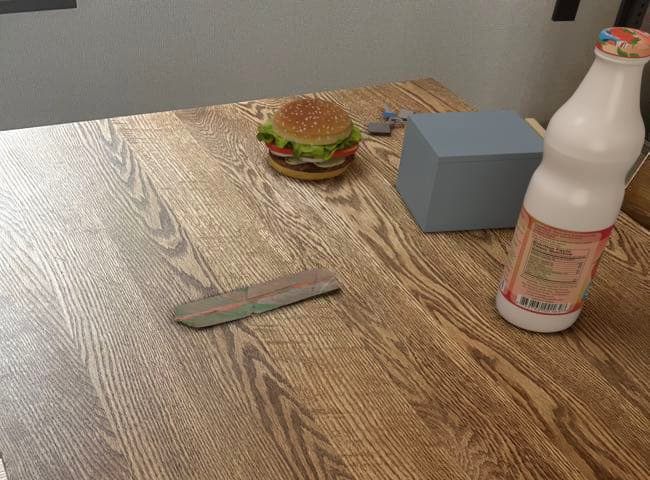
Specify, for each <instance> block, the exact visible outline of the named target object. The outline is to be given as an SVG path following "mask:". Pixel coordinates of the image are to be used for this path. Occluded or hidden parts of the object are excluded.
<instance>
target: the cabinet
mask: <svg viewBox="0 0 650 480" xmlns="http://www.w3.org/2000/svg"><path fill="white" fill-rule="evenodd" d="M406 121H407V122H405V129H404V135H403V141H402V147H401V153H400V158H399V164H398V169H397V170H398V171H397V176H396V182H395V188H396V190H397V192H398V193H399V195H400V197H401V198H402V200H403V202H404V203H405V205H406V206H407V208H408V209H409V211H410V213H411V214H412V216H413V218H414V220H415V222H416V223H417V224H418V226H419V228H420V229H421V231H422V232H423V233H439V232H455V231H471V230H474V231H475V230H490V229H505V228H506V229H507V228H516V226H517V222H518V219H519V215H520V212H521V209H522V205H523V201H524V197H525V194H526V191H527V188H528V186H529V183H530V180H531V178H532V176H533V174H534V172H535V170H536V169H537V168H538V167H539V165H540V164H541V162H542V159H543V142H544V141H543V140H542V139H541V138H540V137H539V135H538V134H537V133H536V132H535V131H534V130H533V129H532V128H531V127H530V126H529V125H528V124H527V123H526V122H525V119H524V118H523V117H522V116H521V115H520V114H519V113H518V112H517V111H516V110H515V109H501V110H500V109H499V110H478V111H476V110H475V111H447V112H446V111H445V112H423V113H419V112H418V113H413V114H408V117H407V119H406Z"/></svg>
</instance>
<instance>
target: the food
mask: <svg viewBox="0 0 650 480" xmlns="http://www.w3.org/2000/svg"><path fill="white" fill-rule="evenodd" d="M257 125H258V126H257V127H256V132H257V133H256V140H257V141H259V143H260V142H263V143H264V144H265V146H266V148H267V149H268V153H267V160H268V163H269V166H270V167H272V168H273V169H274V170H275V171H277V172H278V173H279V174H283V175H285V176H287V177H290V178H295V179H301V180H311V181H312V180H313V181H314V180H325V179H329V178H334V177H338V176H339V175H342V174H343V173H345V172H346V171H347V169H348V168H349V166H350V165H351V164H350V163H352V162H353V161H354V160H355V158H356V153H357V152H358V150H359V149H360V142H361V143H362V138H363V135H362V133H361V132H360V131H361V130H360V127H359V126H355V125H354V123H353V120H352V119H351V116H350V115H349V113H347V112H346V110H345V109H344V108H342V107H341V105H338V104H337V103H335V102H332V101H329V100H326V99H321V98H311V97H309V98H299V99H294V100H292V101H289V102H286V103H285V104H282V106H281V107H279V108H278V110H276V111H275V112H274V114H273V117H269V118H267V120H266V121H265V122H264V124H263V125H260V123H259V122H258V123H257Z"/></svg>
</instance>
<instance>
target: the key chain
mask: <svg viewBox="0 0 650 480" xmlns="http://www.w3.org/2000/svg"><path fill="white" fill-rule="evenodd" d="M382 106H383V109H384V111H382V115H383V117H385V118H388V120H387V121H383V122H375V121H373V122H371V121H370V122H368V123H367V127H368V132H370V133H378V134H379V133H380V134H390V133H391V127H393V126H401V125H403V124H404V123H407V117H408V114H415V111H413V110H409V109H406V108H402V107H401V108H400V109H399V110H400V111H398V114H396V113H395V112H393V110H392V108H391V107H390V105H388V104H387V103H383V104H382Z"/></svg>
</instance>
